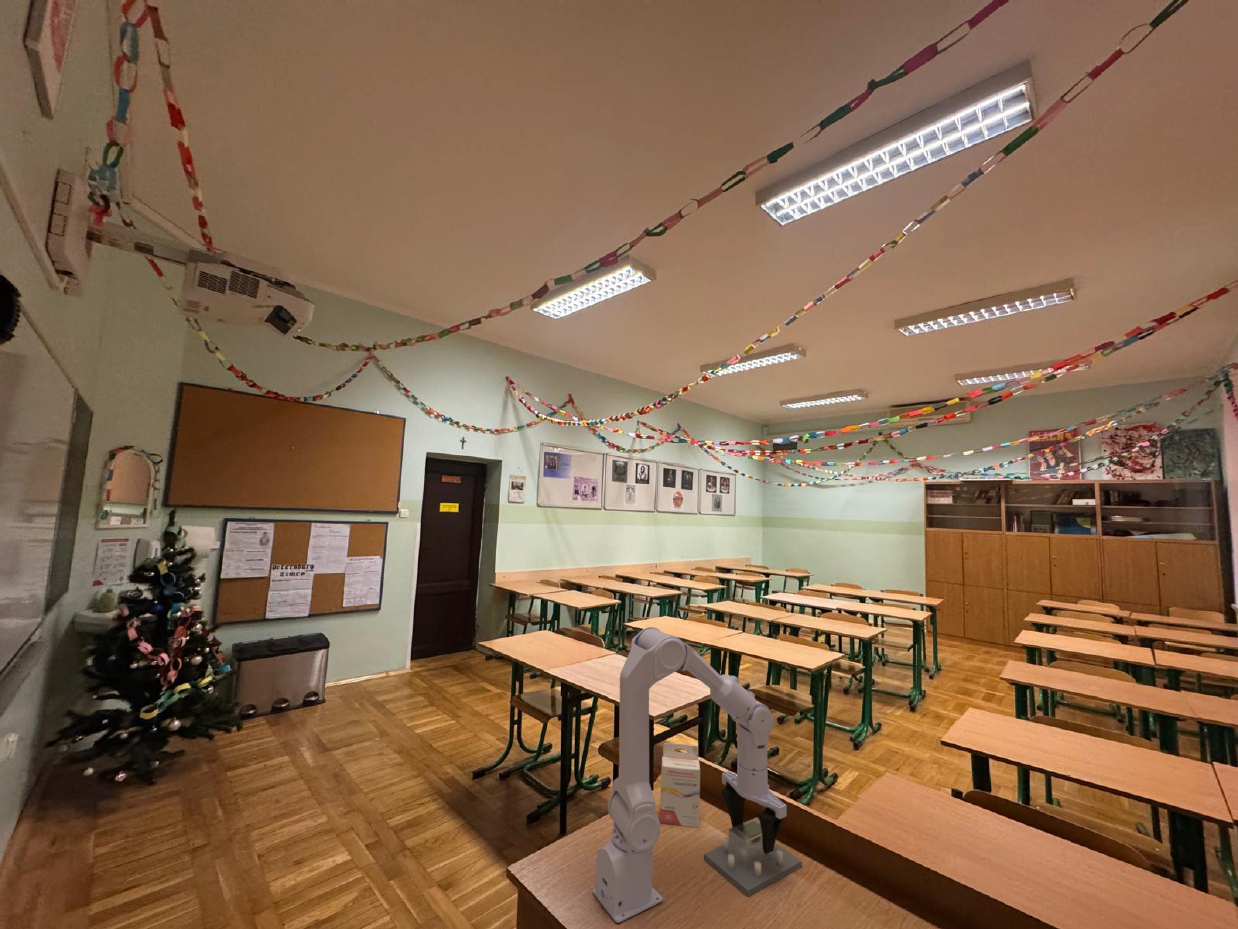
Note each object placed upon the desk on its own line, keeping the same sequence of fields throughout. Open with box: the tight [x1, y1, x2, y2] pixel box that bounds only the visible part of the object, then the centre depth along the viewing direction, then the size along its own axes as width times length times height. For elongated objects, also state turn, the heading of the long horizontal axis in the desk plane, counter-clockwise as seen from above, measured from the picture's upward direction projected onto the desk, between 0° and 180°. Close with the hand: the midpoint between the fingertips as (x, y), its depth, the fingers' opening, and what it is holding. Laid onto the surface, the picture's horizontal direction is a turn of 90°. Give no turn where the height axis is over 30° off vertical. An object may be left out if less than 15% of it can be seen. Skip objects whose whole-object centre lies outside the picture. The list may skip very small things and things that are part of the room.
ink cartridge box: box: [659, 742, 701, 828], centre depth 106 cm, size 9×5×15 cm, turn 84°
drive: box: [728, 816, 775, 872], centre depth 92 cm, size 8×4×5 cm, turn 123°
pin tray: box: [703, 837, 803, 898], centre depth 92 cm, size 15×11×3 cm
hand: (752, 839), depth 92 cm, fingers open, 7 cm apart
